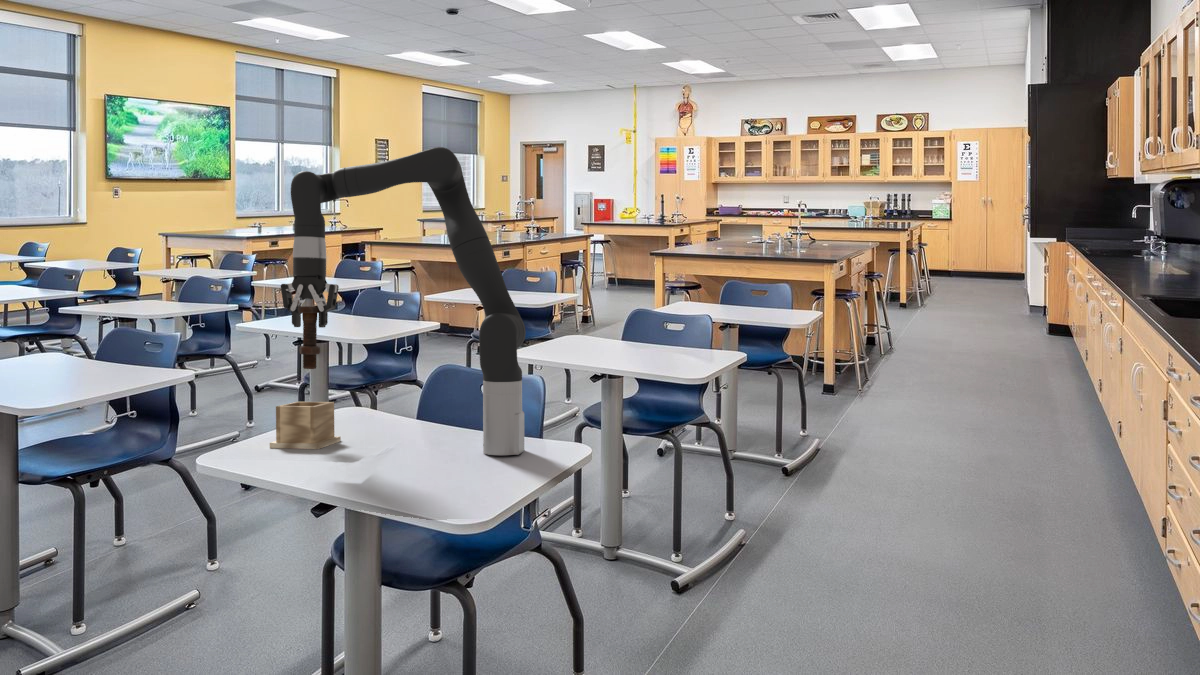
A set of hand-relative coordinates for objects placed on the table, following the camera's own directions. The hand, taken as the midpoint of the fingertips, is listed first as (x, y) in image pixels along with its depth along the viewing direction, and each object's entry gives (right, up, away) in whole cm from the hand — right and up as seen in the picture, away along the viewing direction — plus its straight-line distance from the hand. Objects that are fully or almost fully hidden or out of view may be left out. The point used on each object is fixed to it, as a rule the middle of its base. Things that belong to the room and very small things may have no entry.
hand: (309, 327), depth 208 cm
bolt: (0, -10, 0) cm, 10 cm away
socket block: (-1, -28, 0) cm, 28 cm away
